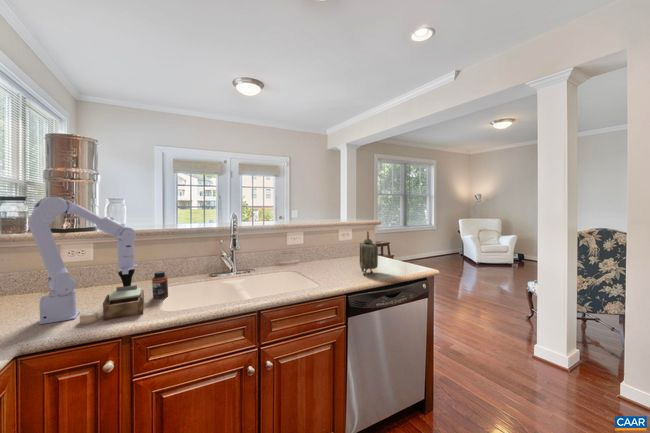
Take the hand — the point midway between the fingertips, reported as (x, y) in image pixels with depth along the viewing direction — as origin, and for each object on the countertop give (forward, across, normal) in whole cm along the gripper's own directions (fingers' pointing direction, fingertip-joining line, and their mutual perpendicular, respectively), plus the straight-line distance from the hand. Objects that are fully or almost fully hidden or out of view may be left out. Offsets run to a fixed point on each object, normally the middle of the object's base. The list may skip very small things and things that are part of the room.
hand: (127, 287), depth 122 cm
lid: (+1, -7, 0) cm, 7 cm away
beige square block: (+6, -17, +10) cm, 21 cm away
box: (+6, -13, 0) cm, 14 cm away
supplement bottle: (+6, 0, -12) cm, 14 cm away
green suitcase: (+6, -14, -118) cm, 119 cm away
